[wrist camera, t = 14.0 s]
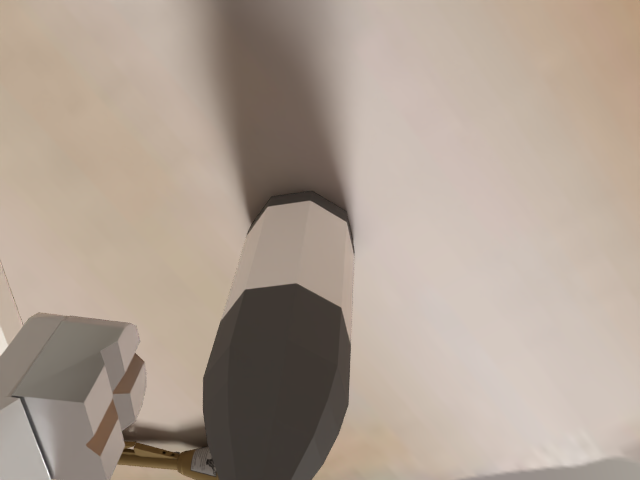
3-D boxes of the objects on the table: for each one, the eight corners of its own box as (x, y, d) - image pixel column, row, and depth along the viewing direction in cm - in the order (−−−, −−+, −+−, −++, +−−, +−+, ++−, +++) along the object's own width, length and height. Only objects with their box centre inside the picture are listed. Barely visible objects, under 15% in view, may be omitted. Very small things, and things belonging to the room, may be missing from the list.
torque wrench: (-47, 437, 66) (-61, 406, 64) (263, 466, 62) (260, 433, 60) (-76, 472, 62) (-92, 440, 60) (253, 506, 58) (249, 472, 56)
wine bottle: (366, 200, 43) (360, 699, 18) (344, 284, 48) (314, 774, 23) (256, 178, 43) (100, 658, 18) (244, 265, 47) (106, 743, 23)
